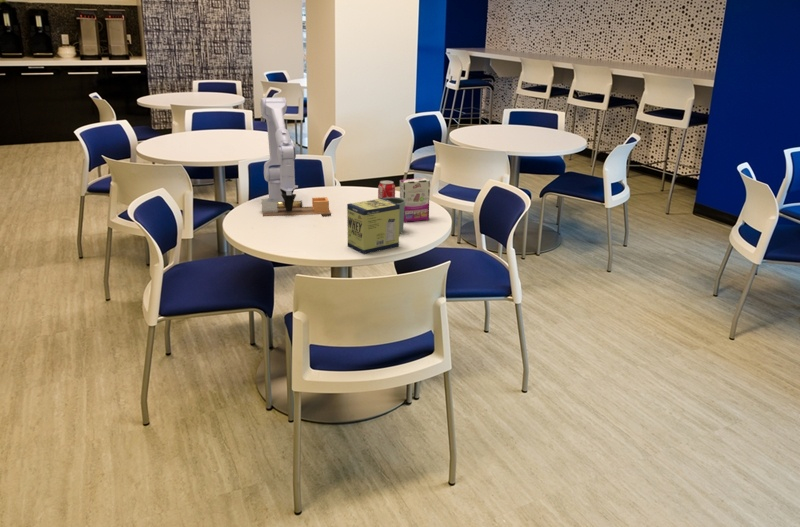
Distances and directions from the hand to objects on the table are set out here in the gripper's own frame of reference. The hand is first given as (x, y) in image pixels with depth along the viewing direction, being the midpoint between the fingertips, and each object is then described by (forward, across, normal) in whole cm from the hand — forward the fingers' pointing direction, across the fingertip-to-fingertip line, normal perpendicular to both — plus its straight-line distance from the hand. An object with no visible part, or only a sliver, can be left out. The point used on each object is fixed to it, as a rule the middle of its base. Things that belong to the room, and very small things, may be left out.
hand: (288, 208), depth 276 cm
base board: (+2, 0, -3) cm, 4 cm away
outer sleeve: (+1, 0, +8) cm, 8 cm away
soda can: (+2, 0, -40) cm, 41 cm away
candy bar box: (+2, -16, -48) cm, 51 cm away
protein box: (+3, -46, -26) cm, 53 cm away
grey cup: (+2, -29, -36) cm, 47 cm away
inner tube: (0, 0, +2) cm, 3 cm away
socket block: (+2, 0, -13) cm, 13 cm away
